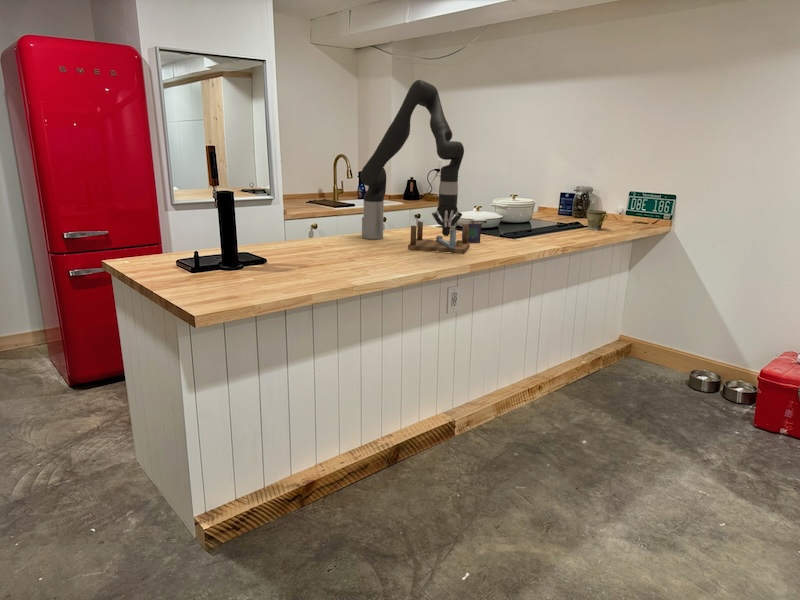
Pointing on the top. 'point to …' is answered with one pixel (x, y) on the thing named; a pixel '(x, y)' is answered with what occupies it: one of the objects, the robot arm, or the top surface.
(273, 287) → the top surface
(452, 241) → the cylinder
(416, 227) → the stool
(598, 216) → the ceramic cup
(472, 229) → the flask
